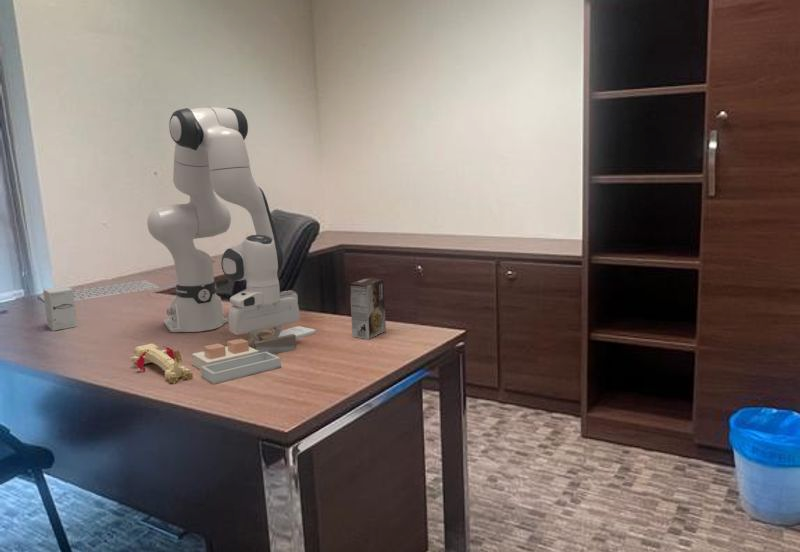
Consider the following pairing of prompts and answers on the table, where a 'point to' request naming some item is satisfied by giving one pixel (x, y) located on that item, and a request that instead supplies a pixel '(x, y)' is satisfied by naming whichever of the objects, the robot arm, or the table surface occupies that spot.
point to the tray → (240, 367)
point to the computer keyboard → (110, 290)
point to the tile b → (238, 346)
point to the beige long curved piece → (162, 361)
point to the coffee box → (367, 308)
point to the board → (202, 360)
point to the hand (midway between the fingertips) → (267, 343)
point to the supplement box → (60, 308)
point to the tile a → (214, 351)
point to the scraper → (272, 342)
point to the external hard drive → (297, 332)
